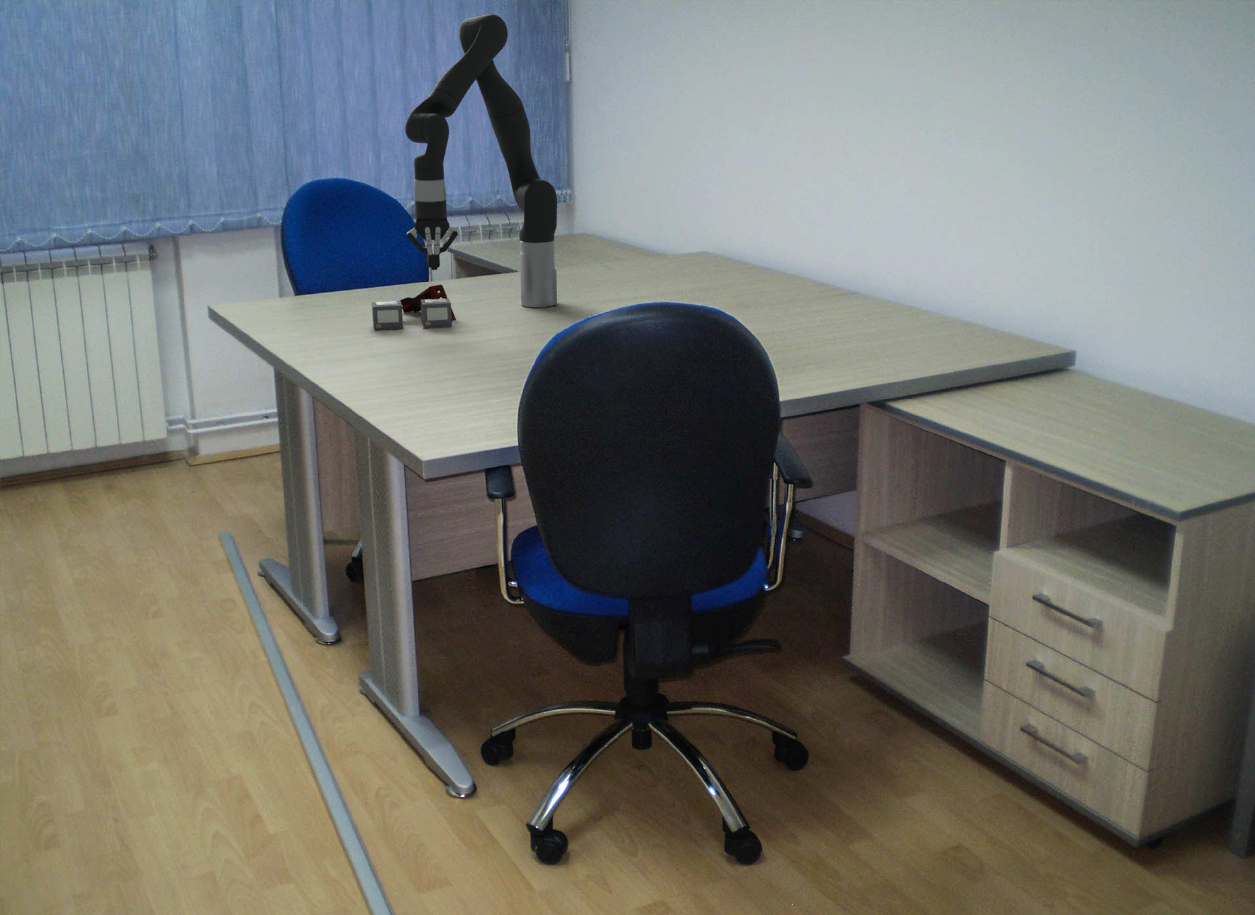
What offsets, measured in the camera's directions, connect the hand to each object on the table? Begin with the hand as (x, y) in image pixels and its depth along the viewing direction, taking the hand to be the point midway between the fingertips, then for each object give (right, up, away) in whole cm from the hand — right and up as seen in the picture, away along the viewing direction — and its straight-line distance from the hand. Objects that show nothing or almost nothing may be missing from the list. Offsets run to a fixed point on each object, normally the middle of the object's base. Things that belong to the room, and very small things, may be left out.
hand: (434, 269), depth 313 cm
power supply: (-12, -14, +2) cm, 18 cm away
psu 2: (0, -13, +4) cm, 14 cm away
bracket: (-6, -11, +13) cm, 18 cm away
